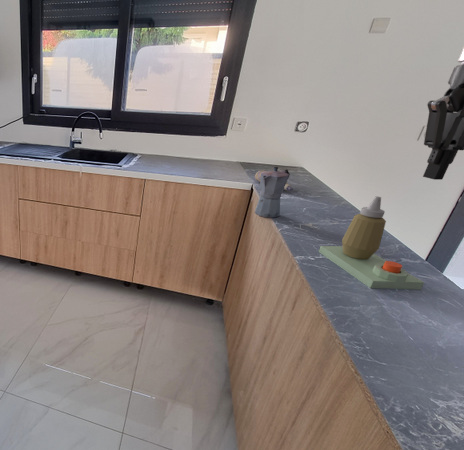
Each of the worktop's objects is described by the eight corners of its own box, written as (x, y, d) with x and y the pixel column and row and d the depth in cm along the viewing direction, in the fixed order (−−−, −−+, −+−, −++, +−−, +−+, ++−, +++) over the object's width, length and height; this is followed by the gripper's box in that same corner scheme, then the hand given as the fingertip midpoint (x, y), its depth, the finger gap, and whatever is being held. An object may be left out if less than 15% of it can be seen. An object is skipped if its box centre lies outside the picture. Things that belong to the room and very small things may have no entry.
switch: (391, 267, 82) (394, 261, 81) (402, 274, 79) (406, 267, 78) (378, 267, 82) (381, 260, 82) (389, 273, 79) (392, 266, 79)
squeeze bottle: (372, 264, 86) (398, 203, 79) (335, 255, 92) (356, 197, 85) (375, 255, 91) (400, 196, 84) (340, 246, 97) (360, 191, 90)
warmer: (359, 252, 97) (363, 241, 96) (421, 289, 79) (428, 276, 77) (318, 252, 98) (322, 240, 97) (370, 288, 80) (376, 275, 78)
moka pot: (244, 213, 130) (254, 166, 122) (266, 207, 136) (277, 162, 129) (266, 221, 122) (279, 171, 114) (289, 214, 129) (302, 166, 121)
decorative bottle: (252, 181, 175) (255, 170, 173) (266, 181, 175) (269, 169, 172) (281, 195, 151) (284, 182, 149) (296, 195, 151) (300, 181, 149)
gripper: (498, 63, 65) (446, 174, 74) (429, 65, 66) (387, 174, 75) (546, 59, 58) (483, 182, 67) (468, 62, 59) (416, 182, 68)
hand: (432, 177), depth 71 cm, fingers closed
